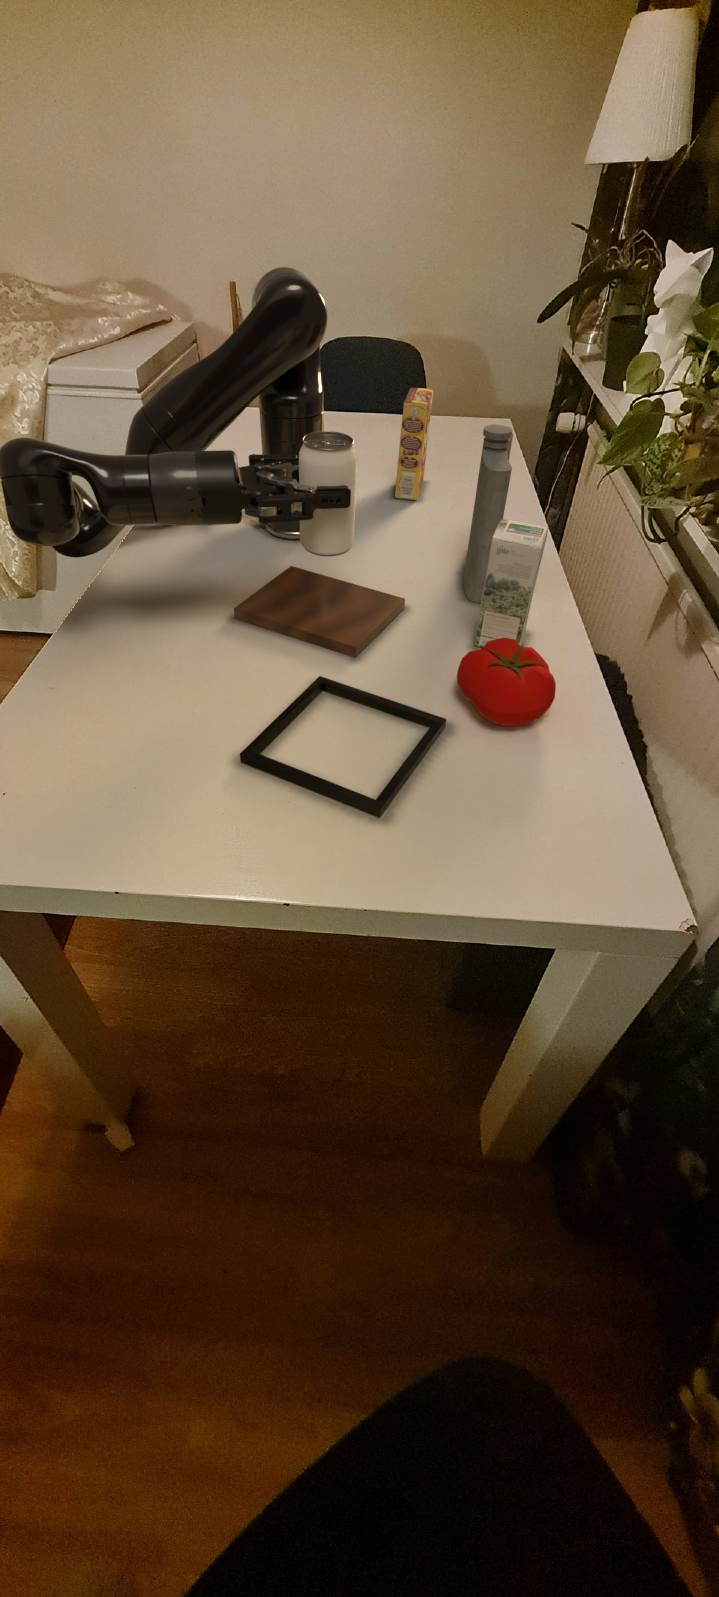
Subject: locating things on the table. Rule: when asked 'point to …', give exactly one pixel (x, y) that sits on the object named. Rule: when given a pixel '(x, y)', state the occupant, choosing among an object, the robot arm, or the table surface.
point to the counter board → (321, 610)
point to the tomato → (507, 682)
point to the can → (328, 465)
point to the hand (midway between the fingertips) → (344, 484)
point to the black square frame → (328, 788)
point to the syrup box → (510, 581)
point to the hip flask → (487, 506)
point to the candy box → (413, 443)
